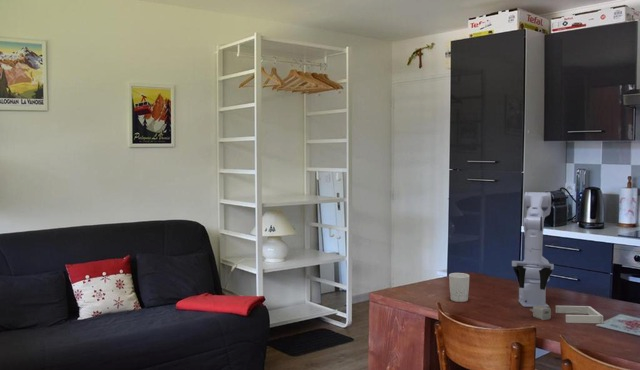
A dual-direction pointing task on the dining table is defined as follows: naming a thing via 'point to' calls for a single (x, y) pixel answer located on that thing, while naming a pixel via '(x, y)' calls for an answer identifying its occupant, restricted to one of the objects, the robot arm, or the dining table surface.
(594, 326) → the dining table surface
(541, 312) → the usb wall charger
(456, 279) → the white cup
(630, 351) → the dining table surface
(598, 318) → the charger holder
